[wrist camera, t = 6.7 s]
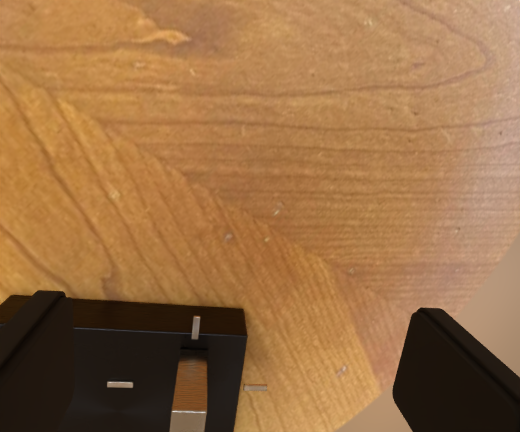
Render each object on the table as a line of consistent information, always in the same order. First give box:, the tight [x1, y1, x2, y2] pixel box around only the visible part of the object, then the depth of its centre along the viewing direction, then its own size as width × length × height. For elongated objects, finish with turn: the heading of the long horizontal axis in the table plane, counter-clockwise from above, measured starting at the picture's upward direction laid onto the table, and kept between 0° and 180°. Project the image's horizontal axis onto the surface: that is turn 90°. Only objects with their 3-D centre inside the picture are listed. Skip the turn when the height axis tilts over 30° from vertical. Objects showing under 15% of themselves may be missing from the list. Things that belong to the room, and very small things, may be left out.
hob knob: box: [169, 349, 208, 432], centre depth 19 cm, size 5×2×5 cm, turn 171°
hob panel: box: [0, 295, 267, 432], centre depth 23 cm, size 16×12×3 cm
